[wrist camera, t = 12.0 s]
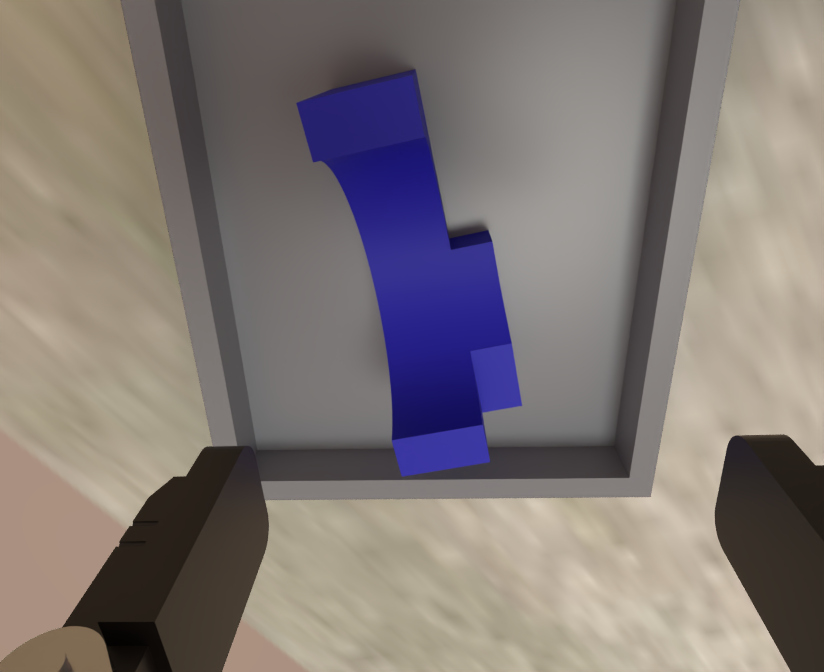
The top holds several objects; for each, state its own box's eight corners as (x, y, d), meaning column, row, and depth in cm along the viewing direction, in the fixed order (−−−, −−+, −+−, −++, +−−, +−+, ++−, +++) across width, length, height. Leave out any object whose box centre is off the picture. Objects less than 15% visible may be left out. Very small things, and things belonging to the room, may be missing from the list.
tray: (719, -137, 18) (770, -170, 16) (628, 453, 28) (650, 497, 25) (139, -113, 19) (91, -141, 16) (243, 457, 28) (224, 500, 26)
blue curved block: (511, 367, 25) (535, 454, 20) (406, 386, 25) (401, 476, 20) (459, 58, 20) (472, 60, 15) (330, 89, 21) (295, 103, 15)
